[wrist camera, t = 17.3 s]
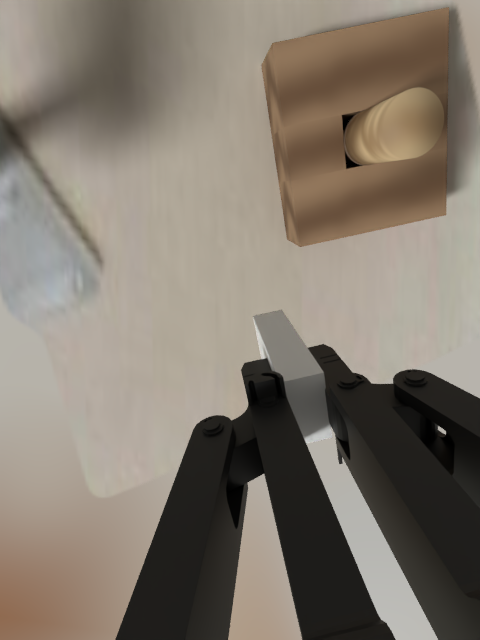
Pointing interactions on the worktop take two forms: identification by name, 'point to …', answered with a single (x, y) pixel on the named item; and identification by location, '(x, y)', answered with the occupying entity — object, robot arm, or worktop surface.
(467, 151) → the worktop surface
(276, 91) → the socket block
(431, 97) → the peg
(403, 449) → the robot arm
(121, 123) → the worktop surface
